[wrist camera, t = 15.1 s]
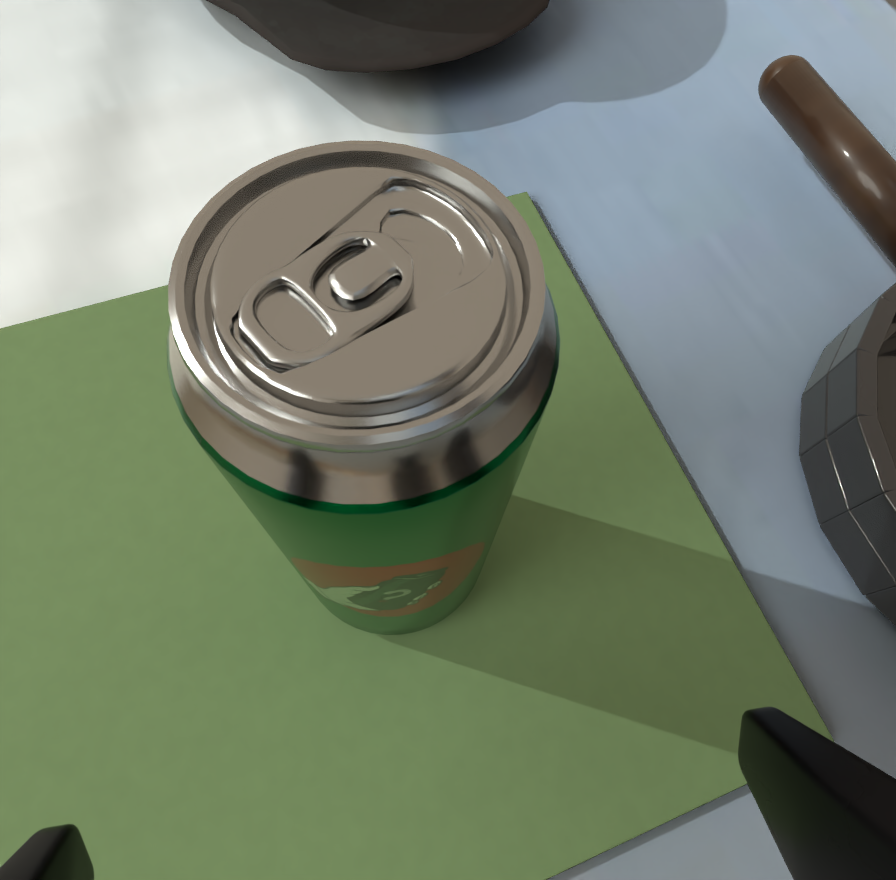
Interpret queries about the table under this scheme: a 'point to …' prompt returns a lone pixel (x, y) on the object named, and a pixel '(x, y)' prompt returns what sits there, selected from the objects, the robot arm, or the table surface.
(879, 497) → the pan
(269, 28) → the casserole
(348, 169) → the soda can
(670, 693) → the napkin
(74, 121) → the table surface
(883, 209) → the pan handle
